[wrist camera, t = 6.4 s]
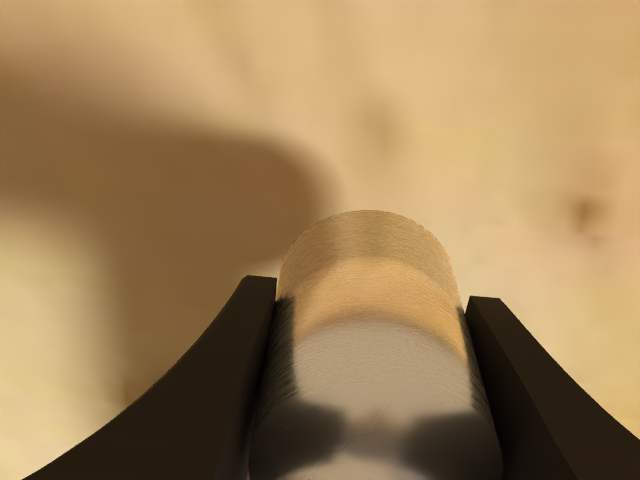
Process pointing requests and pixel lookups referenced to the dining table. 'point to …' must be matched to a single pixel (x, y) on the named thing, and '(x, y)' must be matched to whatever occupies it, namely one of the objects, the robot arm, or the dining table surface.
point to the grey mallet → (371, 362)
